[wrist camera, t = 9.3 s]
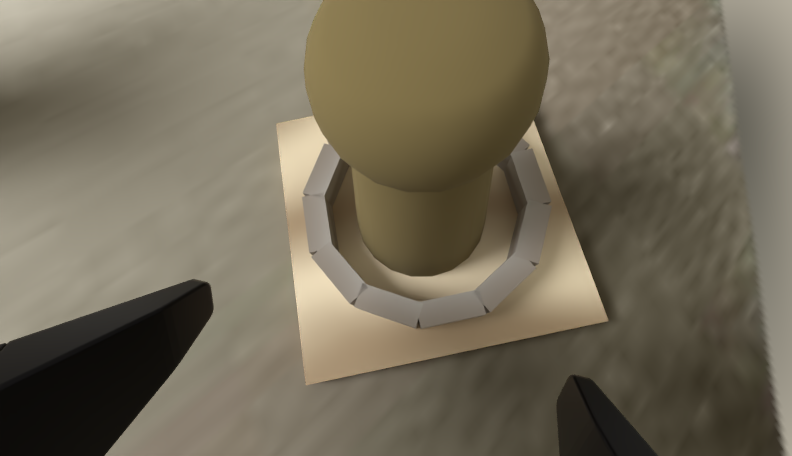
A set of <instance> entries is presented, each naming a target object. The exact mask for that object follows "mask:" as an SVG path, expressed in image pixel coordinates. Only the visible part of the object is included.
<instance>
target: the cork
mask: <svg viewBox="0 0 792 456" xmlns="http://www.w3.org/2000/svg"><path fill="white" fill-rule="evenodd" d="M548 67H549V52H548V46H547V39H546V32H545V27H544V24H543V21H542V18H541V15H540V12H539V9H538V7H537V6H536V4H535V2H534V1H533V0H323V2H322V4H321V6H320V8H319V10H318V12H317V14H316V16H315V18H314V20H313V23H312V26H311V28H310V31H309V34H308V37H307V43H306V53H305V63H304V75H305V86H306V90H307V94H308V97H309V101H310V105H311V108H312V112H313V115H314V118H315V120H316V122H317V124H318V126H319V128H320V130H321V132H322V134H323V135H324V136H325V138H326V139H327V140H328V142H329V143H330V144H331V146H332V147H333V148H334V150H335V151H336V152H337V154H338V155H339V156H340V158H341V159H342V160H344V161H345V162H346V163H347V164H348V165H350V166H351V167H352V176H353V185H354V194H355V203H356V212H357V221H358V226H359V230H360V233H361V236H362V240H363V243H364V244H365V245H366V247H367V248H368V250H369V251H370V252H371V254H372V255H373V257H374V258H375V259H376V260H378V261H379V262H381V263H382V264H383V265H385V266H386V267H387V268H389V269H390V270H392V271H395V272H398V273H401V274H405V275H408V276H411V277H432V276H435V275H438V274H441V273H444V272H447V271H451V270H453V269H454V268H455V267H457V266H458V265H460V264H461V263H462V262H464V261H465V260H466V259H468V258H469V257H470V255H471V254H472V252H473V251H474V249H475V248H476V246H477V245H478V244H479V242H480V240H481V236H482V232H483V229H484V225H485V220H486V214H487V207H488V201H489V194H490V188H491V181H492V175H493V168H494V166H496V165H497V164H499V163H500V162H501V161H503V160H504V159H505V158H506V157H508V156H509V155H510V154H511V153H512V151H513V150H514V148H515V147H516V146H517V144H518V143H519V142H520V140H521V139H522V137H523V136H524V135H525V133H526V132H527V130H528V129H529V128H530V126H531V124H532V122H533V120H534V119H535V117H536V115H537V113H538V112H539V108H540V104H541V100H542V96H543V92H544V88H545V84H546V80H547V74H548Z"/></svg>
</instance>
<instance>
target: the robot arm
mask: <svg viewBox="0 0 792 456" xmlns="http://www.w3.org/2000/svg"><path fill="white" fill-rule="evenodd" d="M213 308H214V306H213V299H212V292H211V286H210V284H209V283H207V282H204V281H200V280H196V279H192V280H189V281H186V282H183V283H180V284H177V285H174V286H171V287H168V288H165V289H162V290H159V291H156V292H153V293H150V294H148V295H145V296H142V297H139V298H136V299H133V300H130V301H127V302H124V303H121V304H118V305H115V306H112V307H109V308H106V309H103V310H101V311H98V312H95V313H92V314H89V315H86V316H83V317H80V318H77V319H74V320H71V321H68V322H65V323H62V324H59V325H56V326H54V327H51V328H48V329H45V330H42V331H39V332H36V333H33V334H30V335H27V336H24V337H21V338H18V339H15V340H12V341H10V342H9V343H8V344H6V343H3V344H0V456H105V454H106V453H107V452H108V451H109V449H110V448H111V447H112V446H113V445H114V443H115V442H116V441H117V440H118V438H119V437H120V436H121V435H122V434H123V432H124V431H125V430H126V429H127V428H128V426H129V425H130V424H131V423H132V421H133V420H134V419H135V418H136V417H137V415H138V414H139V413H140V412H141V410H142V409H143V408H144V407H145V406H146V404H147V403H148V402H149V401H150V399H151V398H152V397H153V396H154V395H155V393H156V392H157V391H158V390H159V388H160V387H161V386H162V385H163V384H164V382H165V381H166V380H167V379H168V377H169V376H170V375H171V374H172V372H173V371H174V370H175V369H176V367H177V366H178V364H179V363H180V362H181V360H182V359H183V357H184V356H185V354H186V353H187V351H188V350H189V348H190V347H191V345H192V344H193V342H194V341H195V339H196V338H197V337H198V335H199V334H200V332H201V331H202V329H203V328H204V326H205V325H206V323H207V322H208V320H209V319H210V317H211V315H212V313H213ZM557 422H558V438H559V453H560V456H658V455H657V454H656V453H655V452H654V450H653V449H652V448H651V447H650V446H649V445H648V444H647V442H646V441H645V440H644V439H643V438H642V437H641V436H640V434H639V433H638V432H637V431H636V430H635V429H634V427H633V426H632V425H631V424H630V423H629V422H628V421H627V419H626V418H625V417H624V416H623V415H622V414H621V413H620V411H619V410H618V409H617V408H616V407H615V406H614V404H613V403H612V402H611V401H610V400H609V399H608V398H607V396H606V395H605V394H604V393H603V392H602V391H601V389H600V388H599V387H598V386H597V385H596V384H595V383H594V382H593V381H592V380H591V379H589V378H586V377H582V376H578V375H571V376H569V378H568V379H567V381H566V383H565V385H564V387H563V389H562V391H561V393H560V395H559V397H558V400H557Z"/></svg>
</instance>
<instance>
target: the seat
mask: <svg viewBox="0 0 792 456" xmlns="http://www.w3.org/2000/svg"><path fill="white" fill-rule="evenodd" d="M276 127H277V135H278V144H279V153H280V162H281V171H282V179H283V188H284V197H285V206H286V215H287V223H288V232H289V241H290V250H291V259H292V267H293V276H294V285H295V294H296V302H297V311H298V320H299V329H300V338H301V346H302V355H303V364H304V373H305V382H306V385H309V384H314V383H319V382H324V381H328V380H333V379H338V378H342V377H347V376H352V375H357V374H361V373H366V372H371V371H375V370H380V369H385V368H390V367H394V366H399V365H404V364H408V363H413V362H418V361H422V360H427V359H432V358H437V357H441V356H446V355H451V354H455V353H460V352H465V351H470V350H474V349H479V348H484V347H488V346H493V345H498V344H502V343H507V342H512V341H517V340H521V339H526V338H531V337H535V336H540V335H545V334H550V333H554V332H559V331H564V330H568V329H573V328H578V327H583V326H587V325H592V324H597V323H601V322H606V321H609V320H608V318H607V315H606V312H605V310H604V307H603V304H602V302H601V299H600V296H599V294H598V291H597V288H596V286H595V283H594V280H593V278H592V275H591V272H590V270H589V267H588V264H587V262H586V259H585V256H584V254H583V251H582V248H581V246H580V243H579V240H578V238H577V235H576V232H575V230H574V227H573V224H572V222H571V219H570V216H569V214H568V211H567V208H566V206H565V203H564V200H563V198H562V195H561V192H560V190H559V187H558V184H557V182H556V179H555V176H554V174H553V171H552V168H551V166H550V163H549V160H548V158H547V155H546V152H545V150H544V147H543V144H542V142H541V139H540V136H539V134H538V131H537V128H536V126H535V123H534V120H533V122H532V124H531V126H530V128H529V129H528V130H527V132H526V133H525V135H524V136H523V137H522V139H521V140H520V142H519V143H518V144H517V146H516V147H515V148H514V150H513V151H512V153H511V154H510V155H509V156H508V157H506V158H505V159H504V160H503V161H501V162H500V163H499V164H497V165H496V166H494V168H493V175H492V181H491V188H490V194H489V201H488V207H487V214H486V220H485V225H484V229H483V232H482V236H481V240H480V242H479V244H478V245H477V246H476V248H475V249H474V251H473V252H472V254H471V255H470V257H469V258H468V259H466V260H465V261H464V262H462V263H461V264H460V265H458V266H457V267H455V268H454V269H453V270H451V271H447V272H444V273H441V274H438V275H435V276H432V277H411V276H408V275H405V274H401V273H398V272H395V271H392V270H390V269H389V268H387V267H386V266H385V265H383V264H382V263H381V262H379V261H378V260H376V259H375V258H374V257H373V255H372V254H371V252H370V251H369V250H368V248H367V247H366V245H365V244H364V243H363V240H362V236H361V233H360V230H359V226H358V221H357V212H356V203H355V194H354V185H353V176H352V167H351V166H350V165H348V164H347V163H346V162H345V161H344V160H342V159H341V158H340V156H339V155H338V154H337V152H336V151H335V150H334V148H333V147H332V146H331V144H330V143H329V142H328V140H327V139H326V138H325V136H324V135H323V134H322V132H321V130H320V128H319V126H318V124H317V122H316V120H315V118H314V116H310V117H305V118H300V119H296V120H291V121H286V122H281V123H277V124H276Z"/></svg>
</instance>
